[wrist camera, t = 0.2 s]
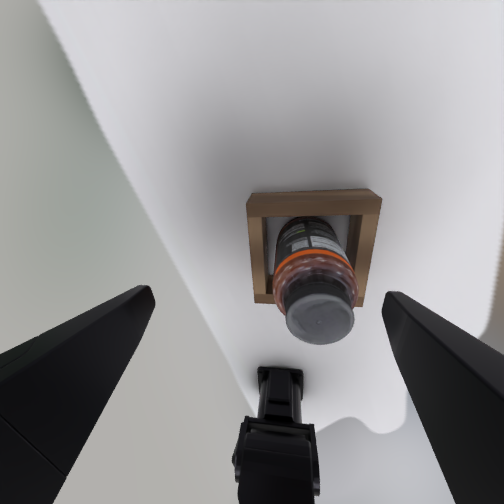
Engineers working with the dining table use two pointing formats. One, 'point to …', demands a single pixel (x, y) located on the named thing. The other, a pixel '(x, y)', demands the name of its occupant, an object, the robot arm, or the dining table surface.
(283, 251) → the supplement bottle
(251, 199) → the walnut socket holder
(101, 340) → the robot arm
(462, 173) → the dining table surface
